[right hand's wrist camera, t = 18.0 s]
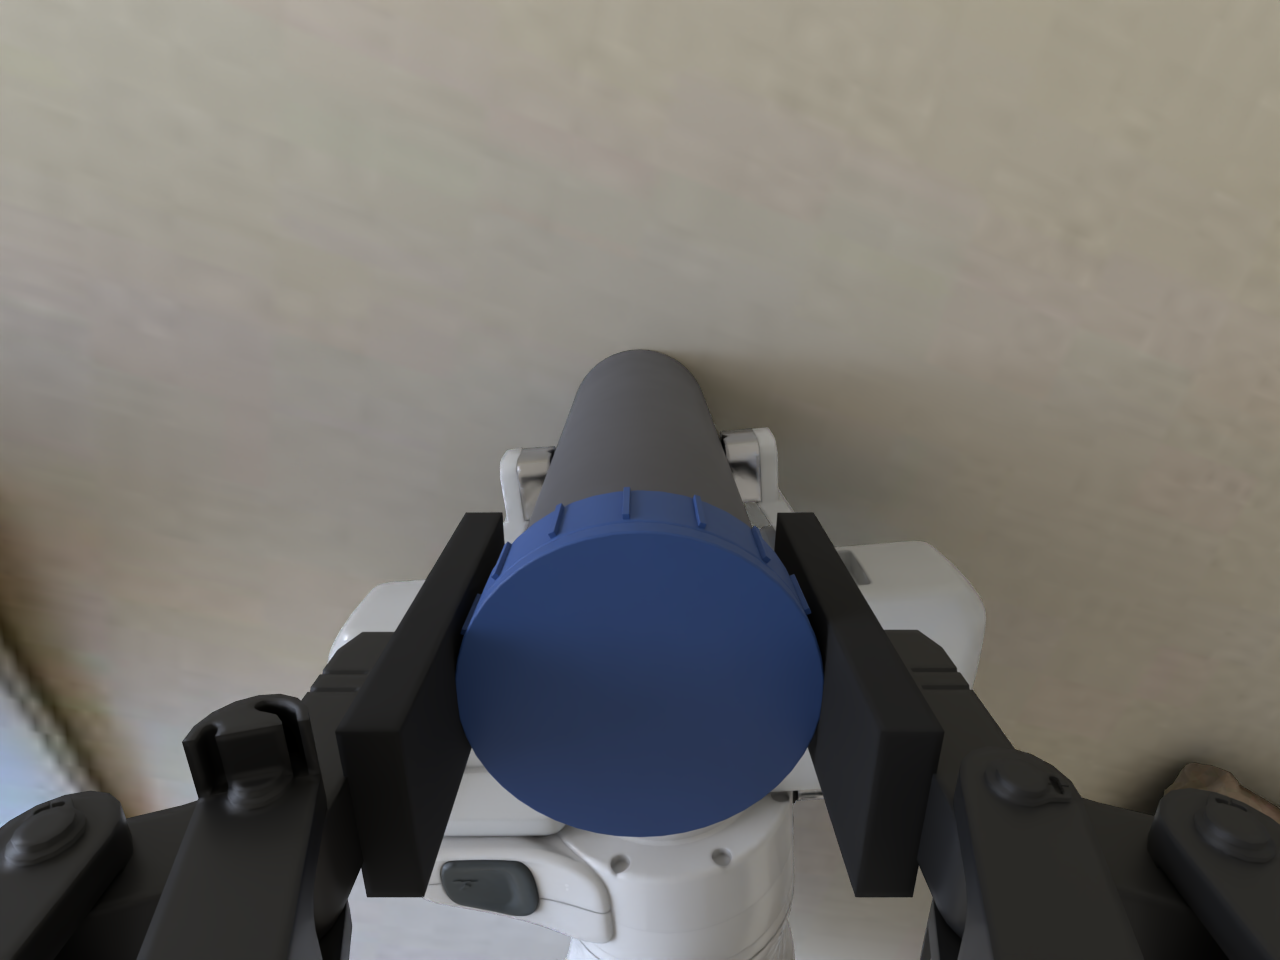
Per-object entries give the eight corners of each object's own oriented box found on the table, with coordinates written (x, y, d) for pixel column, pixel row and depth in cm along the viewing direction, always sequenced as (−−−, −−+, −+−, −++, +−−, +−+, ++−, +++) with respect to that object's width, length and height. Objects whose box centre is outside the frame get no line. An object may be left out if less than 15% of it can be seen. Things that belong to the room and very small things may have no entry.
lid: (673, 417, 11) (678, 449, 9) (865, 663, 12) (897, 726, 11) (407, 613, 12) (372, 671, 10) (613, 813, 14) (609, 889, 12)
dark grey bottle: (652, 321, 25) (671, 473, 10) (731, 427, 26) (858, 705, 11) (546, 404, 26) (415, 657, 11) (628, 501, 28) (614, 847, 12)
